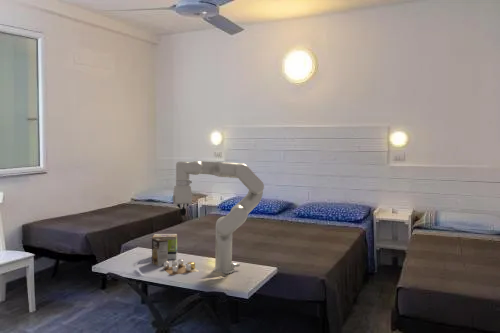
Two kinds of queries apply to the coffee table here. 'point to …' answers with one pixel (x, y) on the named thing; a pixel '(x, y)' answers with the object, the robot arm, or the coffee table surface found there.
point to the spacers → (175, 266)
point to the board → (180, 270)
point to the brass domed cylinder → (192, 265)
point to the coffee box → (159, 251)
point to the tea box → (169, 244)
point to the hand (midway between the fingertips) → (182, 215)
